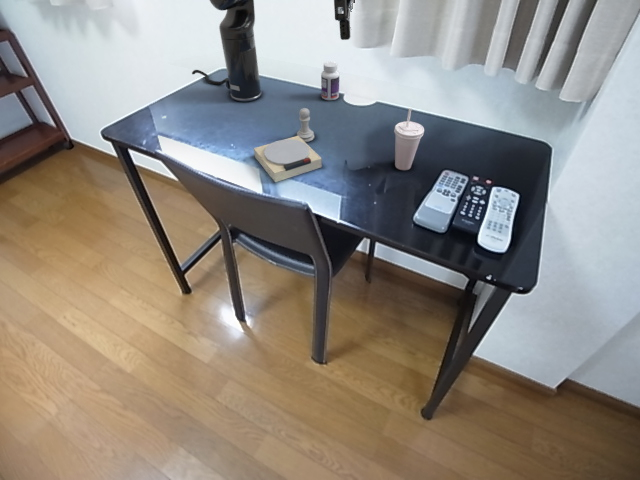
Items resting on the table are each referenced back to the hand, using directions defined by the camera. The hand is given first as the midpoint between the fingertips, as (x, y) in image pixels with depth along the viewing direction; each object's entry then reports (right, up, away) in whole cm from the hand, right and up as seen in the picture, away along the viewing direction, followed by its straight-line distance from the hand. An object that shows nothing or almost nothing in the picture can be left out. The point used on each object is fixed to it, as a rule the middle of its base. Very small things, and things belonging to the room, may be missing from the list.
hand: (350, 34), depth 89 cm
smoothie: (+12, -32, -1) cm, 34 cm away
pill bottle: (-4, -5, +26) cm, 27 cm away
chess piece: (-11, -22, +9) cm, 27 cm away
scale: (-15, -30, +1) cm, 34 cm away
